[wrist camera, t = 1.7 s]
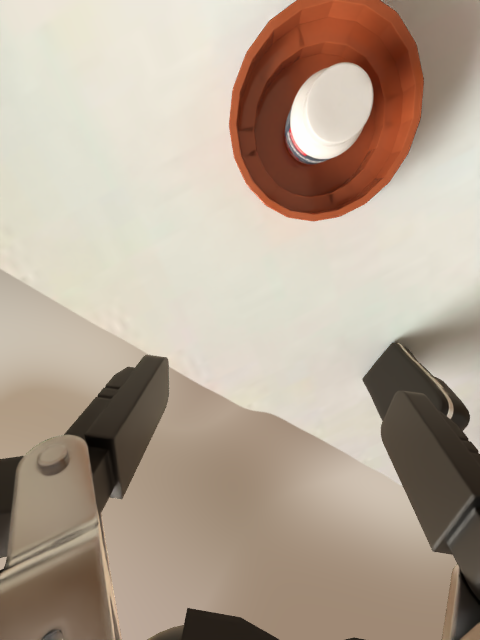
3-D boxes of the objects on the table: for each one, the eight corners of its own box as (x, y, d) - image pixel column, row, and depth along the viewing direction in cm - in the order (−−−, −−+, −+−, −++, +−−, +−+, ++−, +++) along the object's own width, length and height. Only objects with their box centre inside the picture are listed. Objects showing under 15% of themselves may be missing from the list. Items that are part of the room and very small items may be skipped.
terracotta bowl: (211, 173, 27) (202, 171, 23) (283, -15, 21) (289, -64, 17) (333, 240, 29) (345, 248, 25) (432, 84, 23) (469, 61, 19)
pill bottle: (272, 145, 25) (277, 126, 17) (305, 81, 23) (328, 23, 15) (321, 176, 26) (347, 170, 18) (356, 116, 24) (404, 79, 16)
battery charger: (383, 390, 37) (431, 469, 26) (359, 379, 36) (397, 455, 26) (419, 350, 34) (488, 421, 23) (393, 338, 33) (451, 405, 23)
